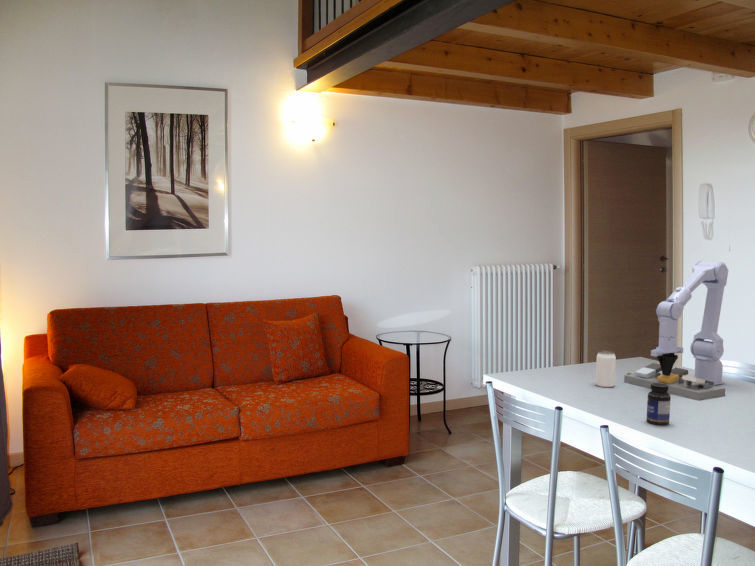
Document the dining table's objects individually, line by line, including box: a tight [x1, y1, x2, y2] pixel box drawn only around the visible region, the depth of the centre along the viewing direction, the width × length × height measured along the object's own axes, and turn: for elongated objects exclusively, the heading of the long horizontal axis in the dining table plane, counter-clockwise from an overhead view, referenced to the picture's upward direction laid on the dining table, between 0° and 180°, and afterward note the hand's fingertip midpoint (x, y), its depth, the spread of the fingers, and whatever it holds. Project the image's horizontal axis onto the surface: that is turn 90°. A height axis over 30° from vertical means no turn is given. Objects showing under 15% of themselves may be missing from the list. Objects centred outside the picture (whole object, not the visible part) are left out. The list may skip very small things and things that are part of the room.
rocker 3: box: [682, 375, 715, 386], centre depth 232 cm, size 10×5×1 cm, turn 121°
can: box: [595, 350, 617, 389], centre depth 243 cm, size 6×6×12 cm
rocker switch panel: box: [623, 372, 726, 401], centre depth 242 cm, size 14×35×4 cm, turn 30°
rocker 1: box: [634, 362, 662, 378], centre depth 248 cm, size 10×5×1 cm, turn 119°
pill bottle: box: [646, 383, 671, 426], centre depth 197 cm, size 6×6×11 cm
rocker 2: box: [657, 367, 689, 384], centre depth 240 cm, size 10×5×1 cm, turn 119°
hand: (666, 375), depth 238 cm, fingers closed
